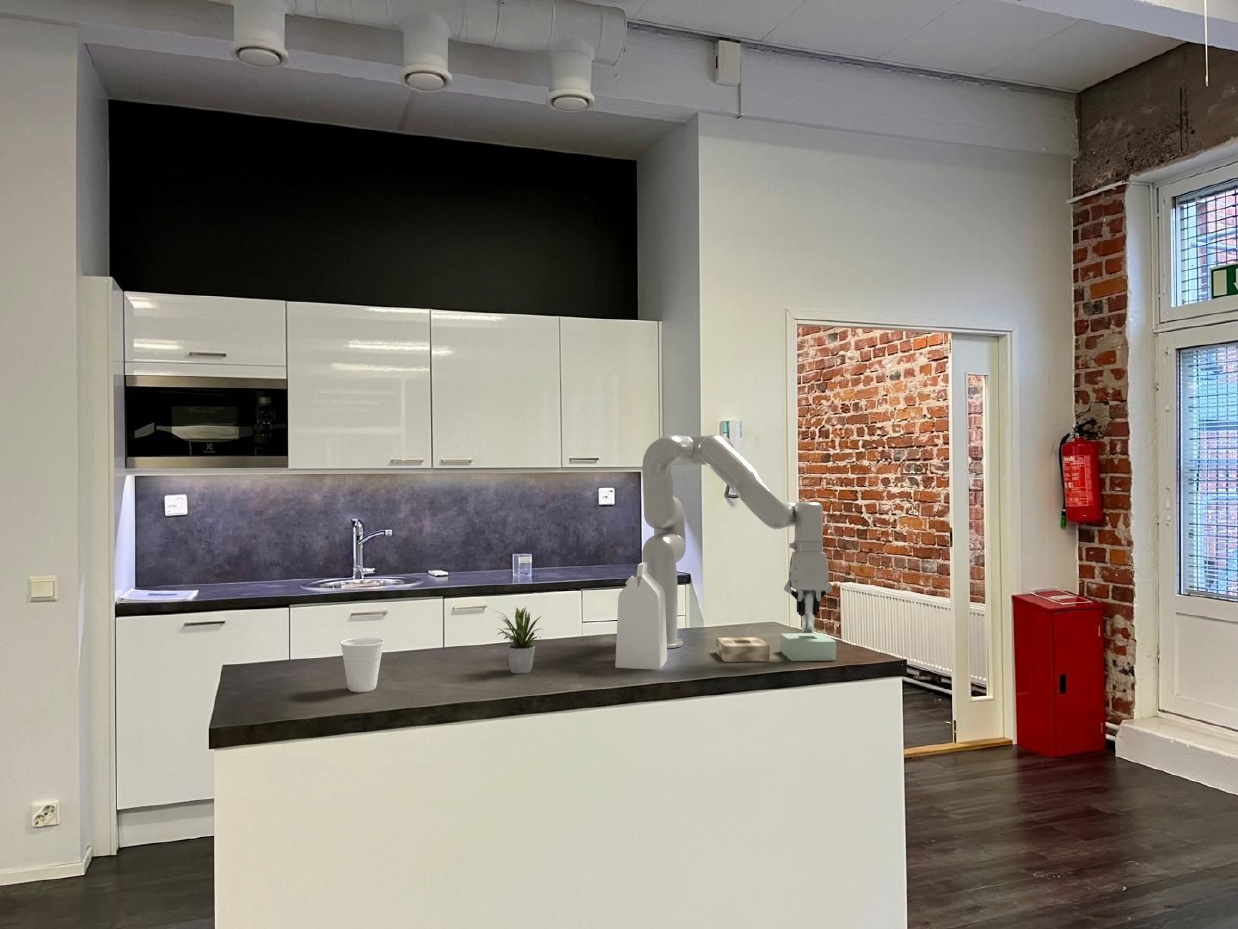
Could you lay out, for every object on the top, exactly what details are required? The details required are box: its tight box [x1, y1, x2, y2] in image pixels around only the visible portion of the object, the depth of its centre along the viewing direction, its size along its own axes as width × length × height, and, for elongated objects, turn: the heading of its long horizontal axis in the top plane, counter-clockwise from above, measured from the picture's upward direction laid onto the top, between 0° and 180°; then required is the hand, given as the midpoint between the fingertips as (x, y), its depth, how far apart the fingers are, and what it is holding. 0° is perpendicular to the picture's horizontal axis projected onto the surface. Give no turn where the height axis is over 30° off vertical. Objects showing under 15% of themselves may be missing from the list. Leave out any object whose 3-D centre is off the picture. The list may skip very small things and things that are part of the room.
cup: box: [339, 637, 386, 693], centre depth 220 cm, size 10×10×11 cm
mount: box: [715, 636, 771, 663], centre depth 259 cm, size 12×12×4 cm
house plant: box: [494, 606, 544, 674], centre depth 241 cm, size 14×14×16 cm
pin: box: [801, 590, 815, 633], centre depth 260 cm, size 3×3×12 cm
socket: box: [779, 632, 837, 662], centre depth 260 cm, size 12×12×5 cm
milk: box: [614, 561, 668, 671], centre depth 249 cm, size 12×12×26 cm
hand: (807, 614), depth 260 cm, fingers closed on pin, 3 cm apart
